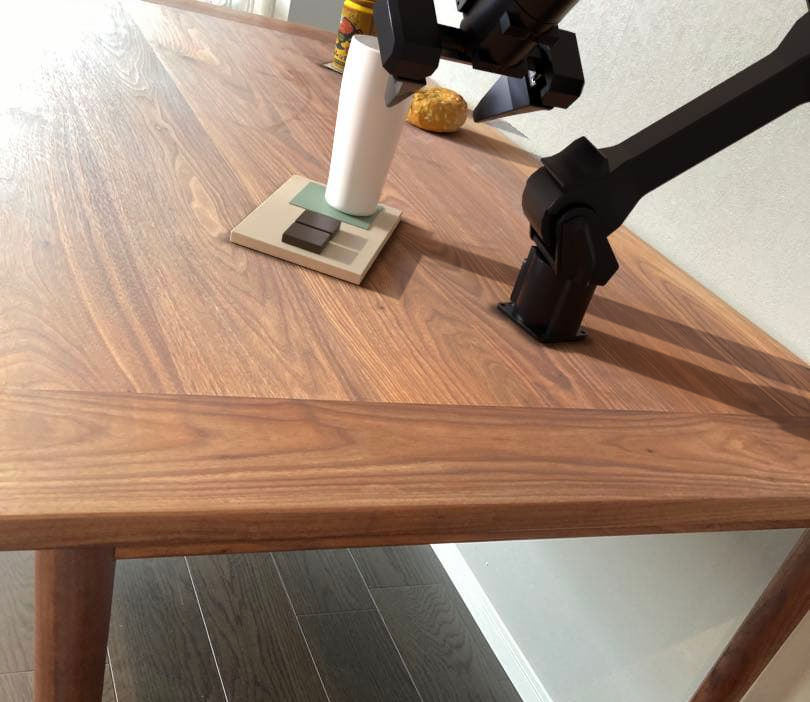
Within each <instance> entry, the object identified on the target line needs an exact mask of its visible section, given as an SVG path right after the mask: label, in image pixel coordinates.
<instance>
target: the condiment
mask: <svg viewBox="0 0 810 702" xmlns="http://www.w3.org/2000/svg"><path fill="white" fill-rule="evenodd" d="M375 2H376V0H345V1H344V2H343V6H342V11H341V15H340V21H339V26H338V30H337V31H338V32H337V36H336V41H335V45H334V50H333V56H332V62H329V63H324V64H321V65H322V66H325V67H326V68H329V69H331V70H333V71H336V72H338V73H341V74H343V73H344V68H345V64H346V59H347V55H348V51H349V48H350V44H351V40H352V37H353V36H354V35H368V36H374V37H377V32H376V26H375V20H374V14H373V8H372V6H373V5H374V3H375Z"/></svg>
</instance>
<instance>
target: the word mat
mask: <svg viewBox="0 0 810 702" xmlns="http://www.w3.org/2000/svg"><path fill="white" fill-rule="evenodd" d="M326 188H327V184H325V183H322V182H320V181H316V180H313V179H310V178H307V177H304V176H301V175H298V174H296V173H295V174H293V175H292V176H291V177H290V178H289V179H287V180H286V181H285V182H284V183H283V184H282V185H281V186H280V187H279V188H278V189H276V190H275V191H274V192H273V193H272V194H271V195H270V196H268V198H266V199H265V200H264V201H263V202H262V203H261V204H259V206H258V207H257V208H255V209H254V210H253V211H252V212H251V213H249V214H248V216H246V217H245V218H244V219H243V220H242V221H241V222H240V223H238V224H237V225H236V226H235V227H234V228H233V229H232V230H231V232H230V237H229V242H231V243H234V244H237V245H240V246H243V247H246V248H248V249H252V250H255V251H257V252H260V253H263V254H267V255H270V256H273V257H275V258H278V259H281V260H284V261H287V262H290V263H293V264H295V265H299V266H302V267H305V268H307V269H309V270H313V271H317V272H319V273H322V274H325V275H328V276H331V277H334V278H337V279H340V280H341V281H342V280H343V281H345V282H348V283H352V284H354V285H357V286H359V285H360V284H361V282H362V281H363V280H364V278H365V276H366V275H367V273H368V271H369V270H370V268H371V267H372V266H373V264H374V262H375V260H376V259H377V257H378V256H379V254H380V253H381V251H382V249H383V248H384V246H385V245H386V244H387V242H388V240H389V239H390V237H391V236H392V234H393V233H394V231H395V229H396V228H397V226H398V225H399V223H400V221H401V220H402V217H403V213H404V211H403V210H401V209H398V208H395V207H393V206H390V205H386V204H384V203H381V202H379V203H378V207H377V210H376V212H375V213H374V214H372V215H370V216H354V215H349V214H346V213H343V212H341V211H338V210H336V209H335V208H333V207H332V206H330V205H329V204H328V202H327V201H326V197H325V193H326Z"/></svg>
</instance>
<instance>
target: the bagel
mask: <svg viewBox="0 0 810 702" xmlns="http://www.w3.org/2000/svg"><path fill="white" fill-rule="evenodd" d="M468 105H469V104H468V102H467V101H466V100H465V99H464V97H463V96H462V95H461V94H460V93H458V92H457V91H454V90H452V89H450V88H447V87H440V86H433V87H430V88H427V89H424V88H421V89H420V90H418V91H417V92H415V93H414V96H413V100H412V103H411V107H410V110H409V113H408V116H407V119H406V123H409V124H410V125H413V126H416V127H417V128H420V129H423V130H426V131H431V132H434V133H455V132H456V131H458V130H459V129H460V128H461V127H462V126H464V124H465V123H466V121H467V119H468V113H469V107H468Z"/></svg>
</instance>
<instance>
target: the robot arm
mask: <svg viewBox="0 0 810 702" xmlns="http://www.w3.org/2000/svg"><path fill="white" fill-rule="evenodd" d="M580 1H581V0H455V5H456V10H457V12H458V13H461V14H462V20H460V22H459V27H455V26H452V25H447V24H443V23H438V17H437V12H436V5H435V0H376V2H375V3H374V5H373V6H372V8H373V14H374V20H375V26H376V32H377V38H378V44H379V50H380V56H381V62H382V67H383V68H384V69H385V70H386V71H387V72H388V73H389V76H388V81H387V86H386V91H385V104H386V107H389V108H390V107H393V106H395V105H397V104H399V103H400V102H402V101H403V100H405V99H406V98H408V97H409V96H411V95H412V94H414V93H415V92H417V91H418V90H420V89H424V88H425V87H426V86H427V84H428V82H427V78H429V77H431V76H432V75H433V74H435V72H436V71H437V69H438V68H439V65H440V61H441V60H444V61H447V62H453V63H456V64H457V63H458V64H463V65H467V66H471V69H472V70H475V71H481V72H486V73H490V74H495V75H500V76H499V78H498V79H497V80H496V81H495V82H494V83H493V85H492V86H491V87H490V88H489V89H488V91H487V92H486V93H485V94H484V95H483V96H482V98H481V99H480V100H479V102H478V103H477V104H476V106H475V107H474V109H473V111H472V120H473V123H476V124H481V123H485V122H489V121H494V120H498V119H502V118H503V119H504V118H507V117H513V116H519V115H524V114H529V113H535V112H540V111H547V112H550V111H552V110H553V109H555V108H557V109H558V108H559V109H562V110H568V108H569V107H570V106H572V105H573V104H574V103H575V102H576V101H577V100H578V99H579V98H580V97H581V96H582V94H583V92H584V88H585V85H586V79H585V74H584V69H583V65H582V61H581V60H582V59H581V53H580V49H579V44H578V39H577V33H576V32H573V31H570V30H567V29H562V28H559V24H560V23H561V22H562V21H563V19H565V17H566V16H567V15H568V14H569V13H570V12H571V11H572V9H574V8H575V6H576V5H578V3H579V2H580ZM805 2H806V7H807V11H806V12H805V13H804V14H803V15H802V16H800V17H799V18H798V19H797V20H796V21H795V22H794V23H793V25H792V26H791V28H790V29H789V31H788V32H787V33H786V35H785V36H784V37H783V39H782V40H781V42H779V44H778V46H777V47H776V48H775V49H774V50H772V51H771V52H770V53H769V54H767V55H766V56H764V57H762V58H760V59H759V60H757V61H755V62H754V63H751V64H750V65H748V66H747V67H745V68H744V69H742V70H740V71H738V72H736V73H735V74H733V75H732V76H730V77H729V78H726V79H725V80H723V81H722V82H720V83H718V84H717V85H715V86H713V87H712V88H710V89H708V90H707V91H704V92H703V93H701V94H700V95H699V96H697V97H695V98H693V99H692V100H689V101H688V102H686V103H685V104H683V105H681V106H679V107H677V108H676V109H674V110H673V111H671V112H670V113H668V114H666V115H665V116H663V117H661V118H660V119H658V120H656V121H654V122H653V123H651V124H649V125H647V126H645V128H643V129H641V130H639V131H638V132H636V133H634V134H633V135H631V136H629V137H628V138H626V139H624V140H623V141H621V142H619V143H616V144H615V145H611V146H606V147H600V148H598V147H597V146H596V145H594V144H593V143H592V141H590V139H588V138H587V137H586V135H581V136H580V137H578V138H576V139H574V140H572V142H571V143H569V144H568V145H567V146H566V147H564V148H563V149H561V150H560V151H559V152H557V153H555V154H552V155H549V156H544V157H541V158H540V160H539V161H540V163H541V164H542V166H540V167H539V168H537V169H536V170H535V171H534V172H532V173H531V174H530V176H529V177H528V178H527V180H526V181H525V186H524V188H523V191H522V194H521V208H522V212H523V215H524V217H525V218H526V220H528V222H529V229H528V230H529V238H530V240H531V241H532V242H533V243H534V244H535V245H531V246H530V249H529V250H528V251H529V252H528V254H527V257H526V258H524V259H523V261H522V263H521V266H520V269H519V271H518V274H517V276H516V280H515V282H514V285H513V288H512V290H511V293H510V298H509V302H508V301H507V302H498V303H497V306H496V309H497V310H498V311H499V312H500V313H502V314H503V315H504V316H505V317H506V318H508V319H509V320H510V321H512V322H513V323H514V324H515V325H517V327H519V328H520V329H521V330H522V331H524V332H525V333H526V334H527V335H529V336H530V337H531V338H532V339H533V340H535V341H536V342H540V343H548V342H550V343H551V342H563V341H576V340H586V339H587V337H588V335H589V333H588V332H587V331H586V330H584V329H583V328H582V327H581V325H582V322H583V320H584V317H585V315H586V313H587V310H588V309H589V306H590V303H591V300H592V298H593V296H594V294H595V291H596V289H597V287H605V286H606V285H607V283H609V281H610V280H611V279H612V278H613V276H614V275H615V274H617V271H619V268H620V264H619V262H618V259H617V257H616V254H615V253H614V250H613V248H612V246H611V243H610V241H609V239H608V237H609V236H611V235H612V234H613V233H615V232H616V231H617V230H618V229H620V228H621V227H622V225H623V224H624V222H625V221H626V220H627V218H628V217H629V216H630V214H632V212H633V210H634V209H635V207H636V206H637V204H638V203H639V202H640V201H641V199H643V198H644V197H645V196H647V195H648V194H649V193H651V192H654V190H657V189H658V188H660V187H661V186H664V185H665V184H667V183H669V182H670V181H672V180H674V179H676V178H677V177H679V176H680V175H683V174H684V173H686V172H687V171H689V170H691V169H692V168H694V167H696V166H698V165H700V164H701V163H703V162H705V161H707V160H708V159H710V158H711V157H713V156H715V155H717V154H718V153H720V152H722V151H724V150H726V149H727V148H729V147H730V146H731V147H732V146H733V145H735V144H736V143H738V142H739V141H741V140H743V139H745V138H746V137H748V136H749V135H751V134H753V133H755V132H756V131H758V130H760V129H762V128H764V127H765V126H767V125H768V124H770V123H772V122H774V121H776V120H777V119H779V118H780V117H782V116H784V115H785V114H787V113H789V112H791V111H793V110H794V109H796V108H798V107H800V106H803V105H804V104H808V103H810V0H805Z"/></svg>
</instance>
